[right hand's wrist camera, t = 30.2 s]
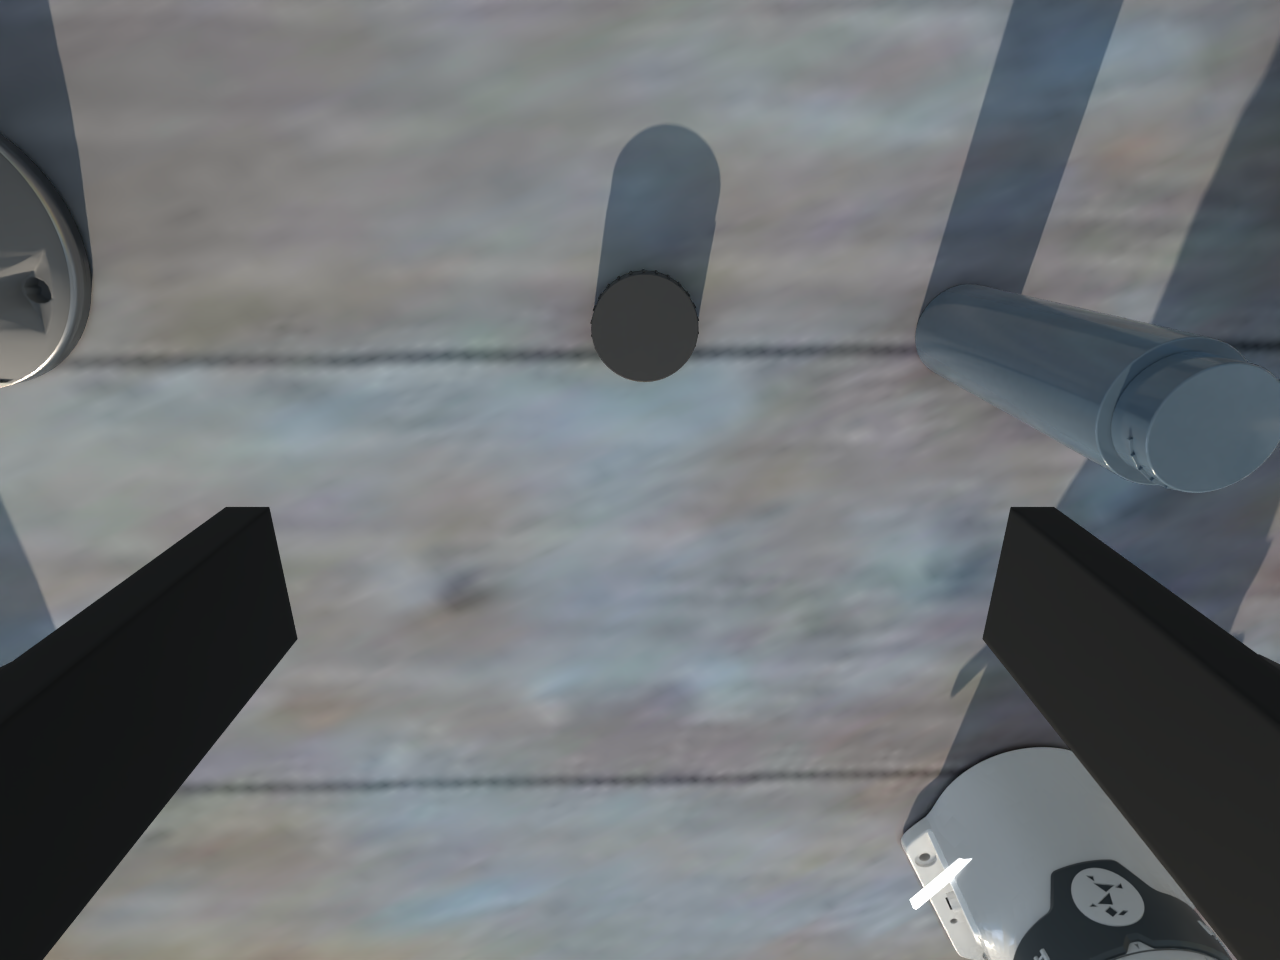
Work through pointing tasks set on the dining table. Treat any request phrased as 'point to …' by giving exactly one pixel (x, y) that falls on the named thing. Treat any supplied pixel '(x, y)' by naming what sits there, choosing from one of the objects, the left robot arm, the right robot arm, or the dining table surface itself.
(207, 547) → the right robot arm
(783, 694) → the dining table surface
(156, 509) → the dining table surface
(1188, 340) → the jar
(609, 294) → the lid
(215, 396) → the dining table surface
